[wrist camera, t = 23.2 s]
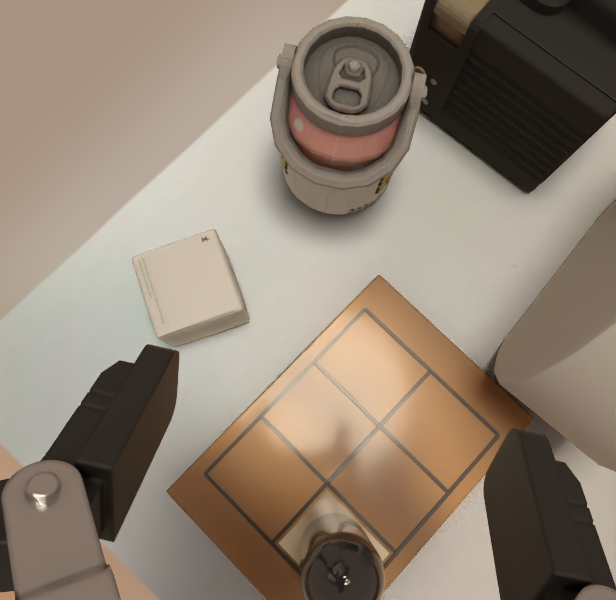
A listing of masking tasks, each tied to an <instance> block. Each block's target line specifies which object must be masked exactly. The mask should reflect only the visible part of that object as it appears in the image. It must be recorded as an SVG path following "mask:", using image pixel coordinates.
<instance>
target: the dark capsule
mask: <svg viewBox="0 0 616 600" xmlns="http://www.w3.org/2000/svg"><path fill="white" fill-rule="evenodd" d="M299 555H300V578H301V587H302V591H303V594H304V597H305V599H306V600H381V598H382V595H383V591H384V586H385V572H384V566H383V562H382V560H381V557H380V555H379V554H378V552H377V550H376V548H375V547H374V545H373V544H372V542H371V540H370V539H369V537H368V536H367V534H366V532H365V531H364V529H363V528H362V526H361V525H360V524H359V523H358V522H357V521H356V520H354V519H353V518H351V517H349V516H347V515H344V514H340V513H329V514H325V515H322V516H320V517H318V518H316V519H315V520H313V521H312V522H311V523H310V524H309V525H308V527H307V528H306V529H305V531H304V533H303V535H302V538H301V541H300V547H299Z"/></svg>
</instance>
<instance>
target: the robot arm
mask: <svg viewBox="0 0 616 600" xmlns="http://www.w3.org/2000/svg"><path fill="white" fill-rule="evenodd" d="M178 370H179V352H178V351H176V350H171V349H167V348H163V347H158V346H154V345H149V344H148V345H146V346H145V347H144V349H143V350H142V352H141V354H140V355H139V357H138V358H137V360H136V362H135V363H134V364H133V363H129V362H125V361H118V362H117V363H115V364H114V365H112V366H111V367H109V368H108V369H106V370H105V371H103V372H102V373H101V374H100V376H99V377H98V378H97V380H96V381H95V383H94V384H93V386H92V387H91V389H90V392H88V393H87V395H86V396H85V398H84V399H83V400H82V402H81V405H80V406H78V408H77V409H76V411H75V412H74V414H73V415H72V417H71V418H70V419H69V421H68V422H67V424H66V425H65V427H64V428H63V430H62V431H61V433H60V434H59V436H58V437H57V439H56V440H55V441H54V443H53V444H52V446H51V447H50V449H49V450H48V452H47V453H46V455H45V456H44V457H43V458H42V460H41V461H39V462H36V463H33V464H30V465H28V466H26V467H24V468H22V469H21V470H19V471H18V472H16V473H15V474H14V475H13V476H12V477H11V478H10V479H6V480H1V481H0V592H7V591H15V600H121V599H120V596H119V592H118V588H117V585H116V581H115V578H114V575H113V572H112V569H111V567H110V565H107V564H106V562H105V559H104V555H103V552H102V548H101V544H100V541H99V539H103V540H107V541H112V542H114V541H115V539H116V536H117V534H118V532H119V530H120V528H121V526H122V524H123V522H124V519H125V517H126V515H127V513H128V511H129V509H130V507H131V504H132V502H133V500H134V498H135V496H136V494H137V492H138V490H139V487H140V485H141V483H142V481H143V479H144V477H145V475H146V472H147V470H148V468H149V466H150V464H151V462H152V460H153V458H154V455H155V453H156V451H157V449H158V447H159V445H160V443H161V440H162V438H163V436H164V434H165V432H166V430H167V428H168V426H169V423H170V421H171V418H172V416H173V412H174V409H175V404H176V398H177V385H178ZM484 500H485V506H486V512H487V518H488V525H489V531H490V537H491V543H492V549H493V556H494V562H495V568H496V574H497V581H498V587H499V593H500V599H501V600H616V586H615V583H614V580H613V577H612V574H611V571H610V568H609V566H608V563H607V560H606V557H605V554H604V551H603V548H602V545H601V542H600V539H599V536H598V533H597V531H596V528H595V525H593V519H592V516H591V513H590V510H589V508H587V501H586V499H585V496H584V493H583V490H582V487H581V484H580V482H579V481H578V479H577V478H576V477H575V475H574V474H573V473H572V471H571V470H570V469H569V467H568V466H567V465H566V463H564V462H559V461H555V458H554V455H553V452H552V449H551V445H550V442H549V440H548V438H547V437H546V436H545V435H541V434H537V433H532V432H528V431H523V430H519V429H515V428H513V429H511V430H510V431H509V432H508V433H507V435H506V437H505V439H504V441H503V442H502V444H501V446H500V448H499V450H498V451H497V453H496V455H495V457H494V459H493V461H492V462H491V464H490V466H489V468H488V470H487V473H486V476H485V481H484Z"/></svg>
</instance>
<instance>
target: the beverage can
mask: <svg viewBox="0 0 616 600" xmlns="http://www.w3.org/2000/svg"><path fill="white" fill-rule="evenodd" d="M277 68H278V69H279V72H278V76H277V81H276V87H275V92H274V98H273V104H272V109H271V115H270V121H271V126H272V132H273V137H274V143H275V146H276V148H277V149H278V151H279V152H280V154H281V166H282V170H283V173H284V177H285V181H286V183H287V185H288V186H289V188H290V189H291V191H292V192H293V194H294V195H295V196H296V197H297V198H298V199H299V200H301V201H302V202H303V203H304V204H306V205H307V206H308V207H310V208H312V209H315V210H318V211H320V212H323V213H326V214H339V215H343V214H348V213H352V212H357V211H360V210H362V209H364V208H366V207H367V206H369V205H371V204H372V203H374V202H375V201H376V200H377V199H378V198H379V197H380V196H381V194H382V193H383V192H384V191H385V190H386V188H387V185H388V183H389V180H390V178H391V176H392V173H393V171H394V170H395V169H396V167H397V166H398V164H399V163H400V162H401V160H402V159H403V157H404V156H405V155H406V153H407V152H408V150H409V148H410V144H411V141H412V137H413V133H414V129H415V125H416V122H417V118H418V114H419V110H420V105H421V101H423V100H424V99H425V97H426V95H427V86H426V85H425V82H426V76H427V75H426V74H421V73H417V72H415V73H414V65H413V62H412V59H411V55H410V52H409V50H408V48H407V47H406V46H405V44H404V43H403V41H402V40H401V39H400V37H399V36H398V35H397V34H395V33H394V32H393V31H391V30H390V29H389V28H387V27H386V26H385V25H383V24H381V23H378V22H375V21H372V20H370V19H367V18H360V17H342V18H337V19H332V20H328V21H326V22H324V23H322V24H320V25H318V26H316V27H315V28H313V29H312V30H311V31H310V32H309V33H308V34H307V35H306V36H305V37H304V38H303V39H302V40H301V41H300V42H299V45H298V47H297V46H295V45H290V44H285V45H284V48H283V52H282V54H280V55H279V57H278V59H277Z"/></svg>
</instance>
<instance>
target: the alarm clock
mask: <svg viewBox="0 0 616 600" xmlns="http://www.w3.org/2000/svg"><path fill="white" fill-rule="evenodd" d="M494 373H495V375H496V377H497V379H498V382H499V384H500V385H501V386H503V387H504V388H505V389H506V390H507V391H509V392H510V393H511V394H512V395H514V396H515V397H516V398H517V399H518V400H520V401H521V402H522V403H523V404H525V405H526V406H527V407H528V408H530V409H531V410H532V411H533V412H534V413H536V414H537V415H538V416H539V417H541V418H542V419H543V420H544V421H545V422H547V423H548V424H549V425H550V426H552V427H553V428H554V429H555V430H557V431H558V432H559V433H560V434H561V435H563V436H564V437H565V438H566V439H568V440H569V441H570V442H571V443H572V444H574V445H575V446H576V447H577V448H579V449H580V450H581V451H582V452H584V453H585V454H586V455H587V456H588V457H590V458H591V459H592V460H593V461H595V462H596V463H597V464H598V465H601V466H603V467H606V468H608V469H611V470H613V471H615V472H616V200H615V201H614V202H613V203H612V204H611V205H610V206H609V207H608V208H607V209H606V210H605V211H604V212H603V213H602V214H601V215H600V216H599V218H598V219H597V220H596V222H595V223H594V224H593V225H592V227H591V228H590V229H589V231H588V232H587V233H586V234H585V236H584V237H583V238H582V240H581V241H580V242H579V243H578V245H577V246H576V247H575V249H574V250H573V251H572V253H571V254H570V255H569V256H568V258H567V259H566V260H565V262H564V263H563V264H562V265H561V267H560V268H559V269H558V271H557V272H556V273H555V275H554V276H553V277H552V278H551V280H550V281H549V282H548V284H547V285H546V286H545V287H544V289H543V290H542V291H541V293H540V294H539V295H538V296H537V298H536V299H535V300H534V302H533V303H532V304H531V306H530V307H529V308H528V309H527V311H526V312H525V313H524V315H523V316H522V317H521V318H520V320H519V321H518V322H517V324H516V325H515V326H514V327H513V329H512V330H511V331H510V333H509V334H508V335H507V337H506V338H505V339H504V340H503V343H502V345H501V347H500V349H499V351H498V354H497V357H496V362H495V367H494Z"/></svg>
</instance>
